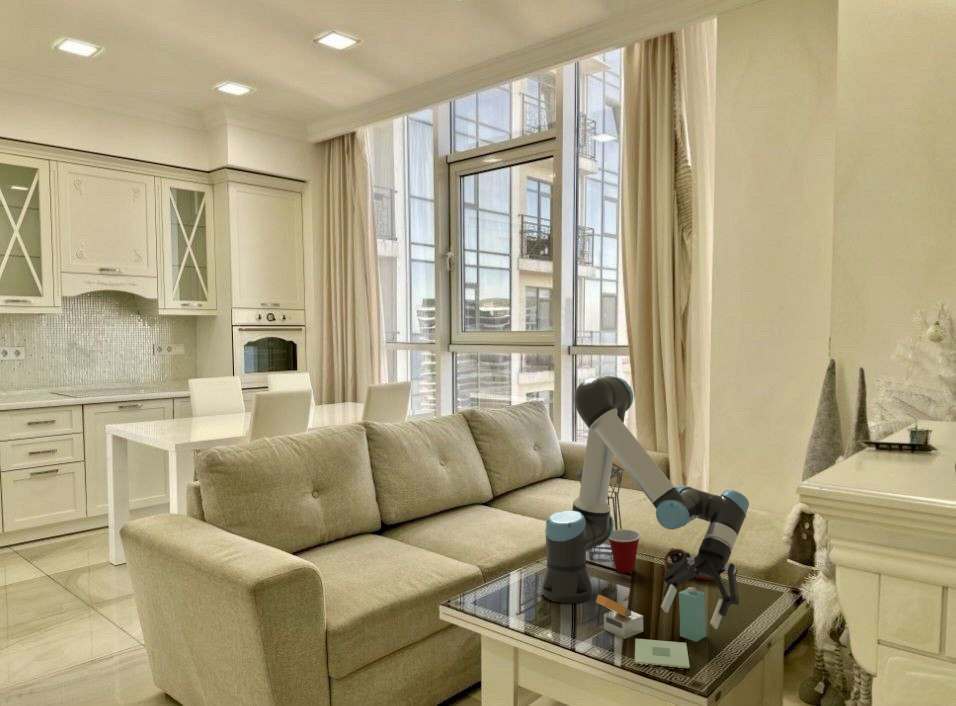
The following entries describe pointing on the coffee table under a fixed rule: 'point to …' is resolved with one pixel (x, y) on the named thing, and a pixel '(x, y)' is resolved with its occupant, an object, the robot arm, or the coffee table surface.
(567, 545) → the robot arm
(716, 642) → the coffee table surface
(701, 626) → the teal tall block
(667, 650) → the pad
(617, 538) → the plastic cup
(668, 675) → the coffee table surface
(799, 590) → the coffee table surface
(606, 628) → the box
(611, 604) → the lever
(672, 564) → the pottery mug
